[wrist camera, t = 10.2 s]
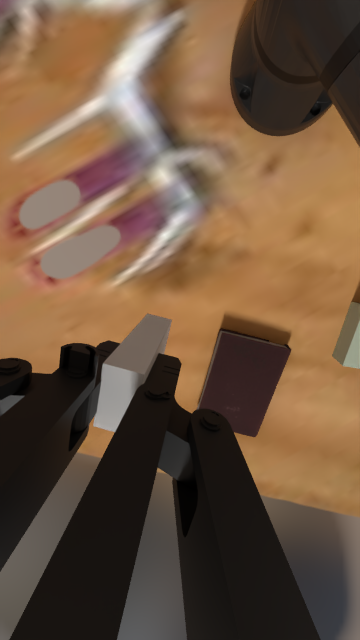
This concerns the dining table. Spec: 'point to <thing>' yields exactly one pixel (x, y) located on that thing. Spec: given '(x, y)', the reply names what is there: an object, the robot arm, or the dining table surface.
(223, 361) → the book
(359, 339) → the block
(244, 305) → the dining table surface
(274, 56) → the robot arm
